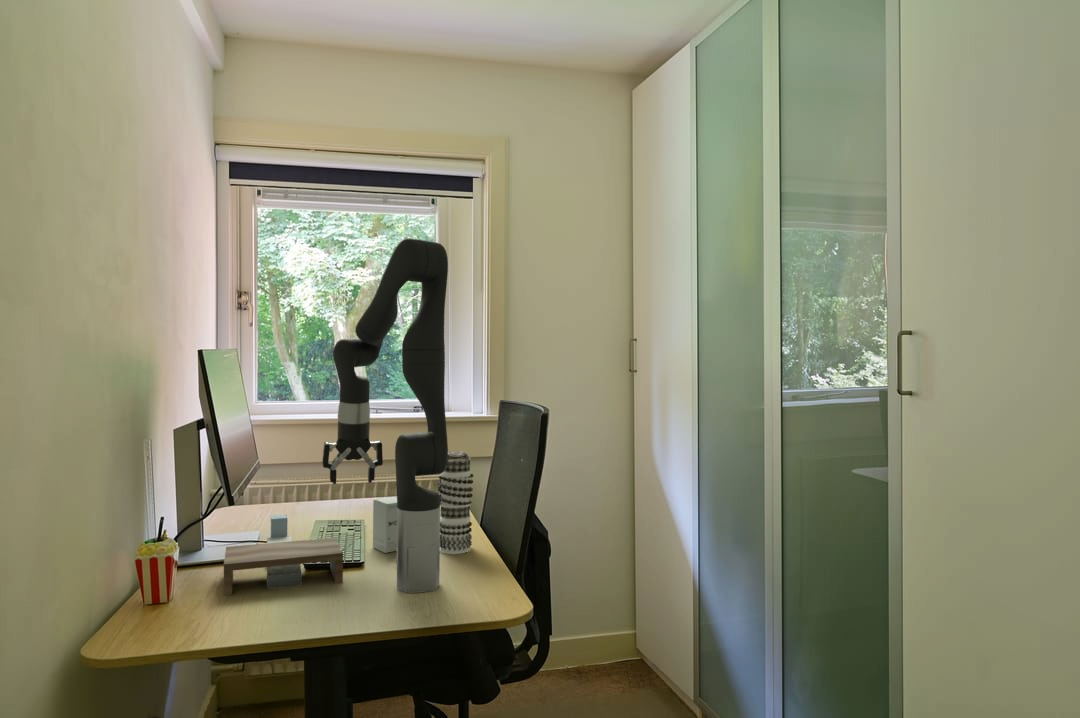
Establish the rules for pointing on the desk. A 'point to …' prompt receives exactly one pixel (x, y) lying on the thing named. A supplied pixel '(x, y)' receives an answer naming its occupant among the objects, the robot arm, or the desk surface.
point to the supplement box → (385, 524)
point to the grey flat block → (284, 576)
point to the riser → (282, 557)
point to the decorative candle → (455, 504)
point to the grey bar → (279, 529)
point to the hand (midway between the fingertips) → (352, 482)
